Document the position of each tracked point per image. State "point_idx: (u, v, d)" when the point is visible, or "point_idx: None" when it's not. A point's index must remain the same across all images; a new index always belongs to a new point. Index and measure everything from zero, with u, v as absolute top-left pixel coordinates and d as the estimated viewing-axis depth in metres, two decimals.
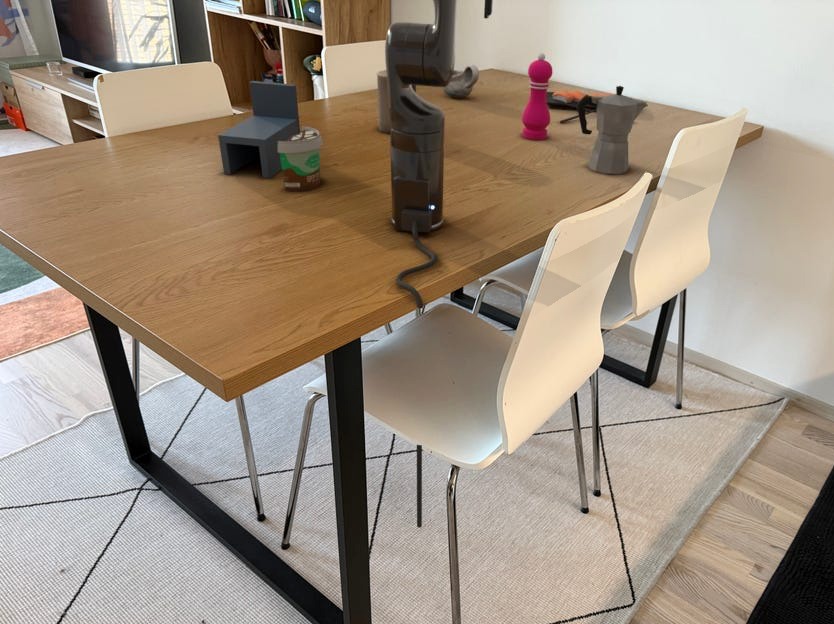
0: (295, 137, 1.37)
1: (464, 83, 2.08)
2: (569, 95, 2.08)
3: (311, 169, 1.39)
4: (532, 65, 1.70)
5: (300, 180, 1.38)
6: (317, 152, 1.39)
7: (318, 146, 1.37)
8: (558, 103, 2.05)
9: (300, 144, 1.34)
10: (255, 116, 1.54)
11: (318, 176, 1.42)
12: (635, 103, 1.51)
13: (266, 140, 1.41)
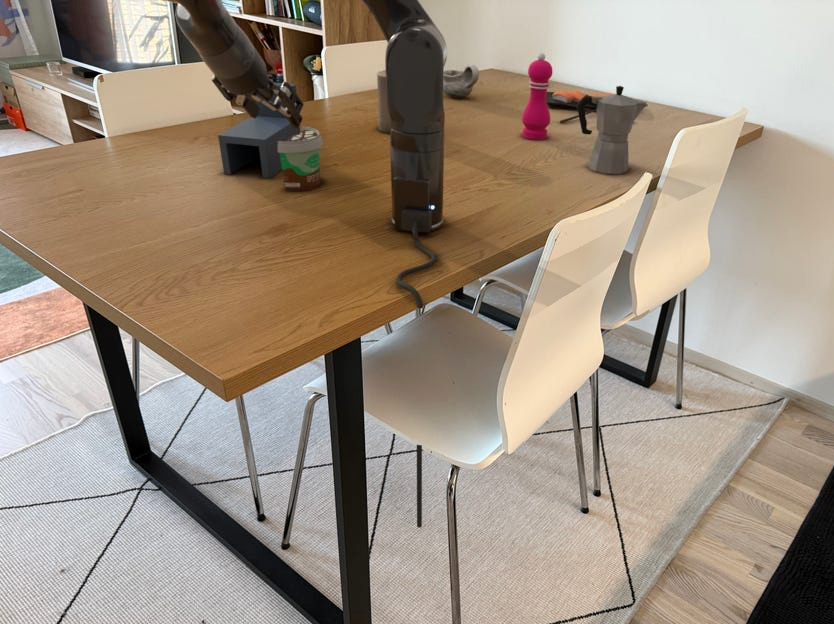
0: (295, 137, 1.37)
1: (464, 83, 2.08)
2: (569, 95, 2.08)
3: (311, 169, 1.39)
4: (532, 65, 1.70)
5: (300, 180, 1.38)
6: (317, 152, 1.39)
7: (318, 146, 1.37)
8: (558, 103, 2.05)
9: (300, 144, 1.34)
10: None
11: (318, 176, 1.42)
12: (635, 103, 1.51)
13: (266, 140, 1.41)
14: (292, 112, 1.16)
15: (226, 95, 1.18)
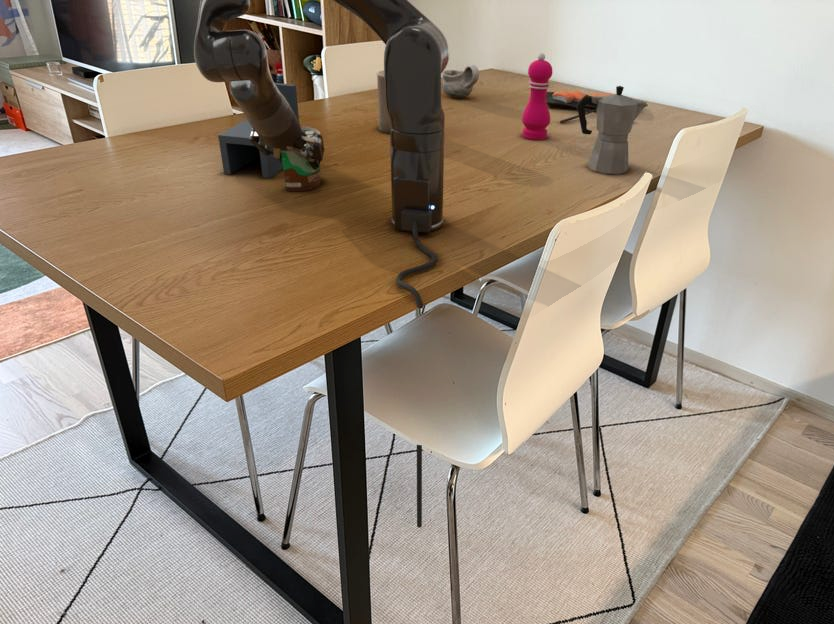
0: None
1: (464, 83, 2.08)
2: (569, 95, 2.08)
3: (312, 169, 1.39)
4: (532, 65, 1.70)
5: (301, 180, 1.38)
6: None
7: None
8: (558, 103, 2.05)
9: None
10: None
11: (318, 176, 1.42)
12: (635, 103, 1.51)
13: None
14: (317, 157, 1.32)
15: (264, 151, 1.33)
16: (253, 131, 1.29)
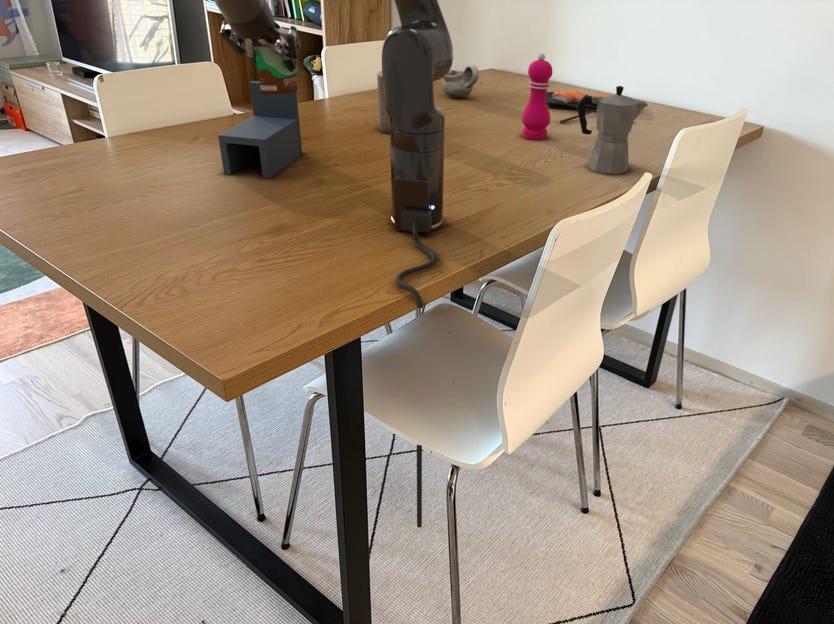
0: None
1: (464, 83, 2.08)
2: (569, 95, 2.08)
3: (288, 71, 1.32)
4: (532, 65, 1.70)
5: (277, 82, 1.32)
6: None
7: None
8: (558, 103, 2.05)
9: None
10: (255, 116, 1.54)
11: (296, 81, 1.35)
12: (635, 103, 1.51)
13: (266, 140, 1.41)
14: (292, 54, 1.26)
15: (236, 48, 1.26)
16: (224, 24, 1.23)
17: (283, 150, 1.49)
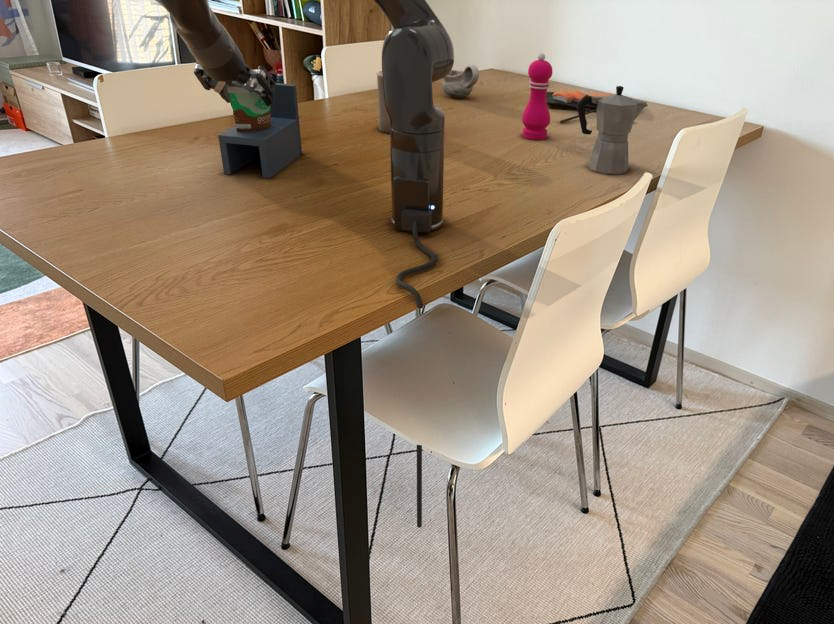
0: None
1: (464, 83, 2.08)
2: (569, 95, 2.08)
3: (261, 111, 1.43)
4: (532, 65, 1.70)
5: (251, 121, 1.43)
6: None
7: None
8: (558, 103, 2.05)
9: (249, 85, 1.39)
10: None
11: (269, 119, 1.46)
12: (635, 103, 1.51)
13: (266, 140, 1.41)
14: (268, 91, 1.36)
15: (205, 85, 1.37)
16: (198, 64, 1.33)
17: (283, 150, 1.49)
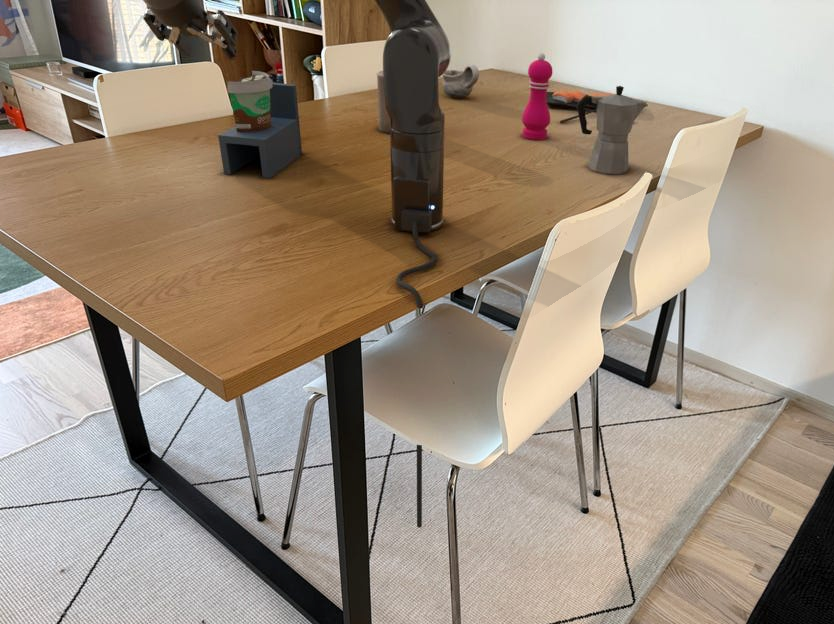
0: (245, 79, 1.42)
1: (464, 83, 2.08)
2: (569, 95, 2.08)
3: (261, 111, 1.43)
4: (532, 65, 1.70)
5: (251, 121, 1.43)
6: (267, 94, 1.43)
7: (267, 88, 1.42)
8: (558, 103, 2.05)
9: (249, 85, 1.39)
10: None
11: (269, 119, 1.46)
12: (635, 103, 1.51)
13: (266, 140, 1.41)
14: (229, 41, 1.19)
15: (158, 34, 1.20)
16: (149, 9, 1.17)
17: (283, 150, 1.49)
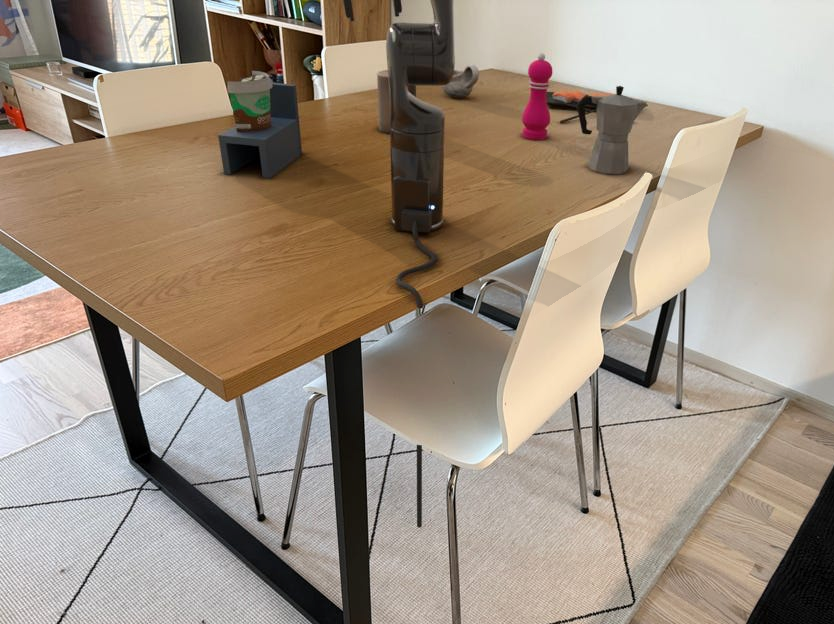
0: (245, 80, 1.42)
1: (464, 83, 2.08)
2: (569, 95, 2.08)
3: (261, 111, 1.43)
4: (532, 65, 1.70)
5: (251, 121, 1.43)
6: (267, 94, 1.43)
7: (267, 88, 1.42)
8: (558, 103, 2.05)
9: (249, 85, 1.39)
10: None
11: (269, 119, 1.46)
12: (635, 103, 1.51)
13: (266, 140, 1.41)
14: None
15: None
16: None
17: (283, 150, 1.49)
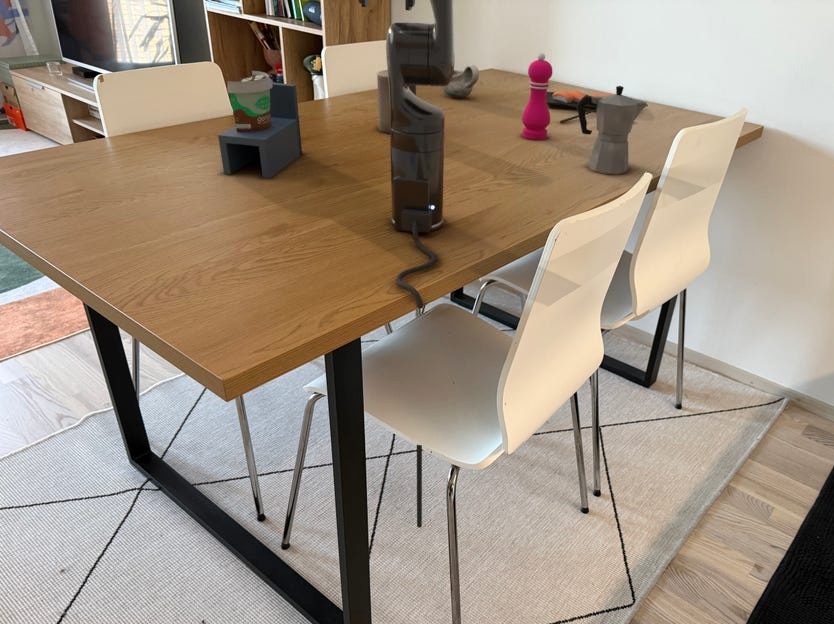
0: (245, 80, 1.42)
1: (464, 83, 2.08)
2: (569, 95, 2.08)
3: (261, 111, 1.43)
4: (532, 65, 1.70)
5: (251, 121, 1.43)
6: (267, 94, 1.43)
7: (267, 88, 1.42)
8: (558, 103, 2.05)
9: (249, 85, 1.39)
10: None
11: (269, 119, 1.46)
12: (635, 103, 1.51)
13: (266, 140, 1.41)
14: None
15: None
16: None
17: (283, 150, 1.49)
